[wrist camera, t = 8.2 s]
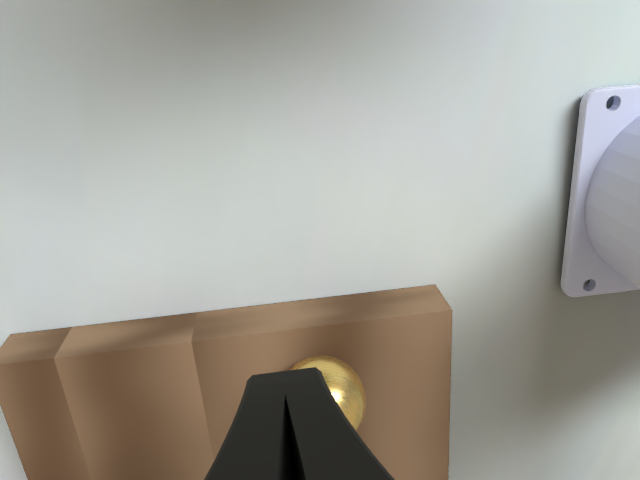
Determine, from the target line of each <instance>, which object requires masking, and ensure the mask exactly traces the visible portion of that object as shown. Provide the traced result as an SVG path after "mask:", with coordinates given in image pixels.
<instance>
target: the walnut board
mask: <svg viewBox="0 0 640 480" xmlns="http://www.w3.org/2000/svg"><path fill="white" fill-rule="evenodd" d="M451 338H452V309H451V307H450V306H449V304H448V303H447V302H446V300H445V299H444V297H443V296H442V294H441V293H440V291H439V290H438V288H437V287H436V285H428V286H419V287H410V288H402V289H393V290H385V291H376V292H368V293H359V294H351V295H342V296H334V297H325V298H316V299H308V300H299V301H291V302H282V303H274V304H265V305H257V306H248V307H240V308H231V309H223V310H214V311H205V312H197V313H188V314H180V315H171V316H163V317H154V318H146V319H137V320H129V321H120V322H111V323H103V324H94V325H86V326H77V327H69V328H60V329H52V330H43V331H35V332H26V333H18V334H11V335H10V336H9V337H8V339H7V340H6V341H5V342H4V344H3V345H2V346H1V348H0V405H1V408H2V411H3V413H4V416H5V419H6V421H7V424H8V427H9V429H10V432H11V435H12V438H13V440H14V443H15V446H16V448H17V451H18V454H19V457H20V459H21V462H22V465H23V467H24V470H25V473H26V476H27V478H28V480H204V479H205V477H206V475H207V473H208V471H209V470H210V468H211V466H212V464H213V462H214V460H215V458H216V456H217V454H218V452H219V450H220V448H221V446H222V444H223V442H224V440H225V437H226V435H227V433H228V431H229V429H230V427H231V425H232V422H233V420H234V417H235V415H236V412H237V410H238V407H239V405H240V402H241V399H242V396H243V393H244V390H245V387H246V383H247V380H248V379H249V378H250V377H251V376H252V375H257V374H265V373H272V372H280V371H288V370H290V369H291V368H292V367H293V366H294V365H295V364H297V363H298V362H300V361H302V360H304V359H306V358H309V357H313V356H331V357H334V358H337V359H339V360H341V361H343V362H345V363H346V364H348V365H349V366H350V367H351V368H352V369H353V370H354V371H355V372H356V373H357V375H358V376H359V378H360V380H361V382H362V384H363V387H364V390H365V395H366V409H365V414H364V417H363V420H362V422H361V424H360V426H359V428H358V429H357V431H356V432H357V433H358V435H359V436H360V437H361V439H362V440H363V442H364V443H365V444H366V445H367V447H368V448H369V449H370V451H371V452H372V453H373V454H374V456H375V457H376V458H377V459H378V461H379V462H380V463H381V464H382V465H383V467H384V468H385V469H386V470H387V471H388V473H389V474H390V475H391V476H392V477H393V478H394V479H395V480H448V465H449V423H450V381H451Z"/></svg>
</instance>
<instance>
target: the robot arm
mask: <svg viewBox="0 0 640 480" xmlns="http://www.w3.org/2000/svg"><path fill="white" fill-rule="evenodd" d="M611 96H613V97H614V102H613V105H612V106H611V107H610V108H608V109H607V107H606V103H607V100H608V99H609V98H610V97H611ZM587 280H590V282H589V284H588V285H587V286H584V287H583V285H584V283H585V282H586V281H587ZM560 285H561V289H562V291H563V292H564V293H565V294H566V295H568V296H569V297H584V296H592V295H600V294H608V293H617V292H625V291H633V290H640V84H637V85H626V86H615V87H604V88H595V89H592V90H589V91H588V92H587V93H585V95H584V96H583V97H582V99H581V103H580V109H579V118H578V128H577V137H576V146H575V155H574V164H573V174H572V183H571V192H570V201H569V210H568V220H567V229H566V238H565V247H564V256H563V266H562V275H561V284H560ZM204 480H395V479H394V478H393V477H392V476H391V475H390V474H389V473H388V471H387V470H386V469H385V468H384V467H383V465H382V464H381V463H380V462H379V461H378V459H377V458H376V457H375V456H374V454H373V453H372V452H371V451H370V449H369V448H368V447H367V445H366V444H365V443H364V442H363V440H362V439H361V437H360V436H359V435H358V433H357V432H356V430H355V429H354V428H353V426H352V425H351V423H350V422H349V421H348V419H347V418H346V416H345V415H344V413H343V412H342V410H341V408H340V407H339V405H338V403H337V402H336V400H335V399H334V397H333V395H332V393H331V391H330V390H329V388H328V386H327V384H326V382H325V379H324V377H323V375H322V372H321V371H320V370H319V369H317V368H316V367H312V368H304V369H296V370H288V371H280V372H272V373H265V374H257V375H252V376H251V377H250V378H249V379H248V380H247V383H246V387H245V390H244V393H243V396H242V399H241V402H240V405H239V407H238V410H237V412H236V415H235V417H234V420H233V422H232V425H231V427H230V429H229V431H228V433H227V435H226V437H225V440H224V442H223V444H222V446H221V448H220V450H219V452H218V454H217V456H216V458H215V460H214V462H213V464H212V466H211V468H210V470H209V471H208V473H207V475H206V477H205V479H204Z"/></svg>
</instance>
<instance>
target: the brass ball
mask: <svg viewBox="0 0 640 480" xmlns="http://www.w3.org/2000/svg"><path fill="white" fill-rule="evenodd" d="M312 367H316V368H317V369H319V370H320V371H321V372H322V375H323V377H324V379H325V382H326V384H327V386H328V388H329V390H330V391H331V393H332V395H333V397H334V399H335V400H336V402H337V403H338V405H339V407H340V408H341V410H342V412H343V413H344V415H345V416H346V418H347V419H348V421H349V422H350V423H351V425H352V426H353V428H354V429H355V430H356V431H357V429H358V428H359V426H360V424H361V422H362V420H363V417H364V414H365V409H366V395H365V390H364V387H363V384H362V382H361V380H360V378H359V376H358V375H357V373H356V372H355V371H354V370H353V369H352V368H351V367H350V366H349V365H348V364H346V363H345V362H343V361H341V360H339V359H337V358H334V357H331V356H313V357H309V358H306V359H304V360H302V361H300V362H298V363H297V364H295V365H294V366H293V367H292V368H291V369H290V370H296V369H304V368H312Z"/></svg>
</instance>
